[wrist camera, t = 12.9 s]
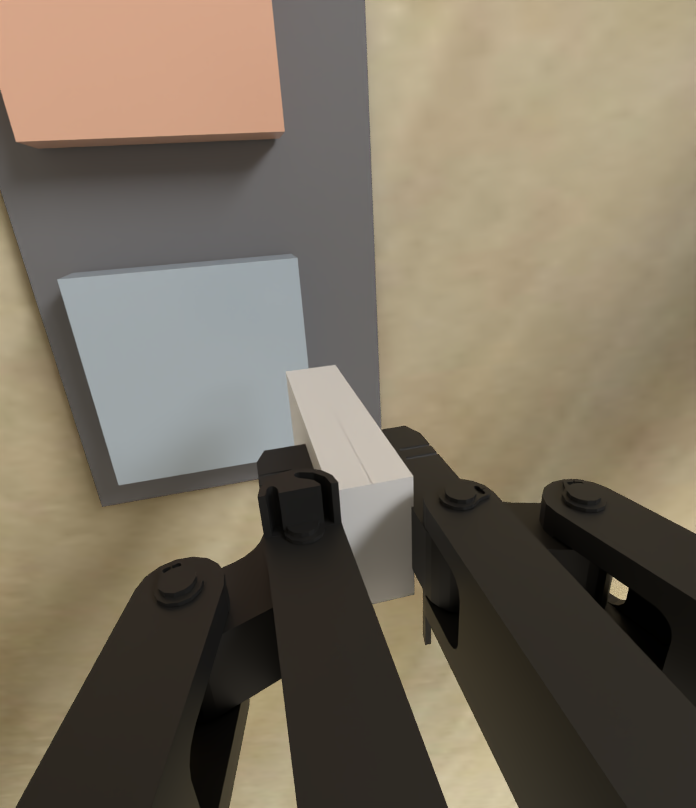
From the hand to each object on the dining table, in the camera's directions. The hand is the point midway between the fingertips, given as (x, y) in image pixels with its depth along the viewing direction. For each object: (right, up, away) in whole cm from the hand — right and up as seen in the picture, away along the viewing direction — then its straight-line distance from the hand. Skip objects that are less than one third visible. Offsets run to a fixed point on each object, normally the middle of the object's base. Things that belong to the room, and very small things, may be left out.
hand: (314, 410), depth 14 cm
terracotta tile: (-2, +13, 0) cm, 13 cm away
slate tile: (-1, +2, +5) cm, 6 cm away
